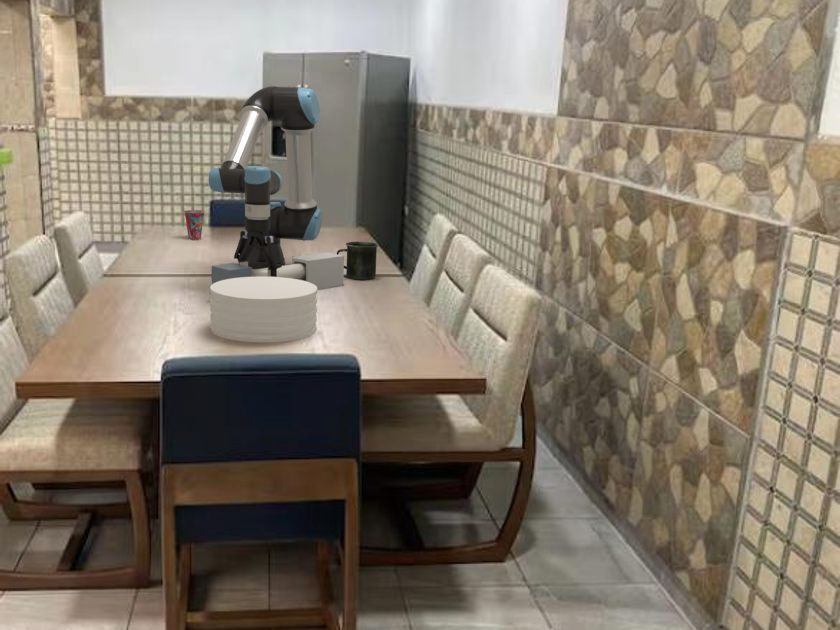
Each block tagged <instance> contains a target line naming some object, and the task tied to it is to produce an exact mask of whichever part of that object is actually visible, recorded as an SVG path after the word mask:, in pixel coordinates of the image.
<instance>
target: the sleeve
mask: <svg viewBox="0 0 840 630" xmlns="http://www.w3.org/2000/svg"><path fill="white" fill-rule="evenodd" d="M299 263H306V278H303V279H298V280H303V281H307V282H310V283H312V284H314V285H316V286H317V291H318V290H323V289H329V288H334V287H340V286H341V287H342V286H344V278H345V277H344V273H345V272H344V270H345V269H344V266H345V256H344V255H341V254H338V255H337V253H333V252H322V253H313V254H307V255H299V256H292V257H291V265H292V264H299Z"/></svg>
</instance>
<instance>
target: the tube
mask: <svg viewBox="0 0 840 630" xmlns="http://www.w3.org/2000/svg"><path fill="white" fill-rule="evenodd" d="M267 269H268V268H263V269H254V268H252V277H267ZM277 277H283V278H292V279H303V278H306V263H299V264H292V263H291V264H285V266H282V267H281V268H278V269H277Z"/></svg>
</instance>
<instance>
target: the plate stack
mask: <svg viewBox="0 0 840 630" xmlns="http://www.w3.org/2000/svg"><path fill="white" fill-rule="evenodd" d="M209 293H210V296H209V300H210V301H209V302H210V306H209V307H210V313H211V314H210V315H209V316H210V322H211V323H210V331H211V333H212V334H214V335H215V336H218V337H220V338H223V339H227V340H230V341H231V340H232V341H237V342H245V343H281V342H291V341H296V340H299V339H304V338H307V337H309V336H312V335H314V334H315V333H316V332H317V326H318V325H317V322H318V318H317V317H318V315H317V313H318V306H317V304H318V297H317V294H318V290H317V286H316V285H314V284H312V283H310V282H307V281H303V280H298V279H292V278H283V277H240V278H232V279H226V280H222V281H218V282H216V283H214V284H212V283H211V285H210V286H209Z"/></svg>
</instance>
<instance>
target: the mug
mask: <svg viewBox="0 0 840 630" xmlns="http://www.w3.org/2000/svg"><path fill="white" fill-rule="evenodd" d="M345 246H346V248H341V249H338V250H337V251H336V254H337V255H340V253H341V252H346V265H344V270H345V271H346V273H345V275H346V277H347V278H348V279H351V280H361V281H367V280H368V281H369V280H373V279H375V278H376V276H377V248H378V246H379V244H377V243H375V242H371V241H348V242H346V243H345Z"/></svg>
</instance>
